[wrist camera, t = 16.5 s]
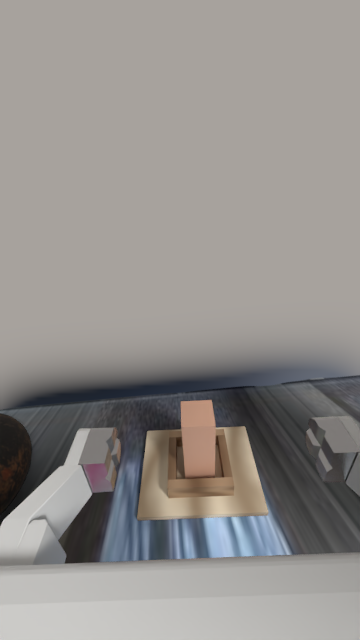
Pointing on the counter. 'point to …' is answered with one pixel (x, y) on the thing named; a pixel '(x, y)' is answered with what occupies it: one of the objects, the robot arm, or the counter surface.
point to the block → (198, 438)
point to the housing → (199, 479)
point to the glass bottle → (12, 458)
